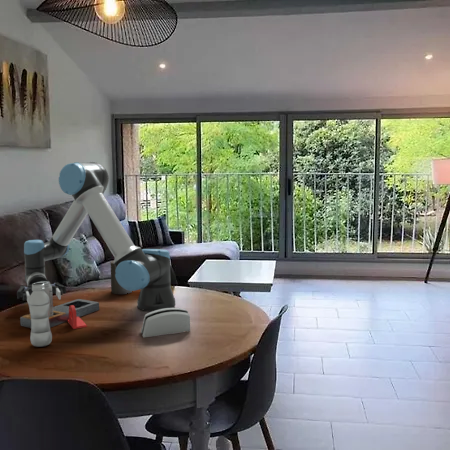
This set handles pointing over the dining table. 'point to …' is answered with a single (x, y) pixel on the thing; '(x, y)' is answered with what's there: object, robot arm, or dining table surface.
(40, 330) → the plastic bottle
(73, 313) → the bracket
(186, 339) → the dining table surface
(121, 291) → the pillar candle
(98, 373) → the dining table surface
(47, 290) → the energy drink can
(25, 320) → the grey compartment tray
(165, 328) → the white plastic holder
